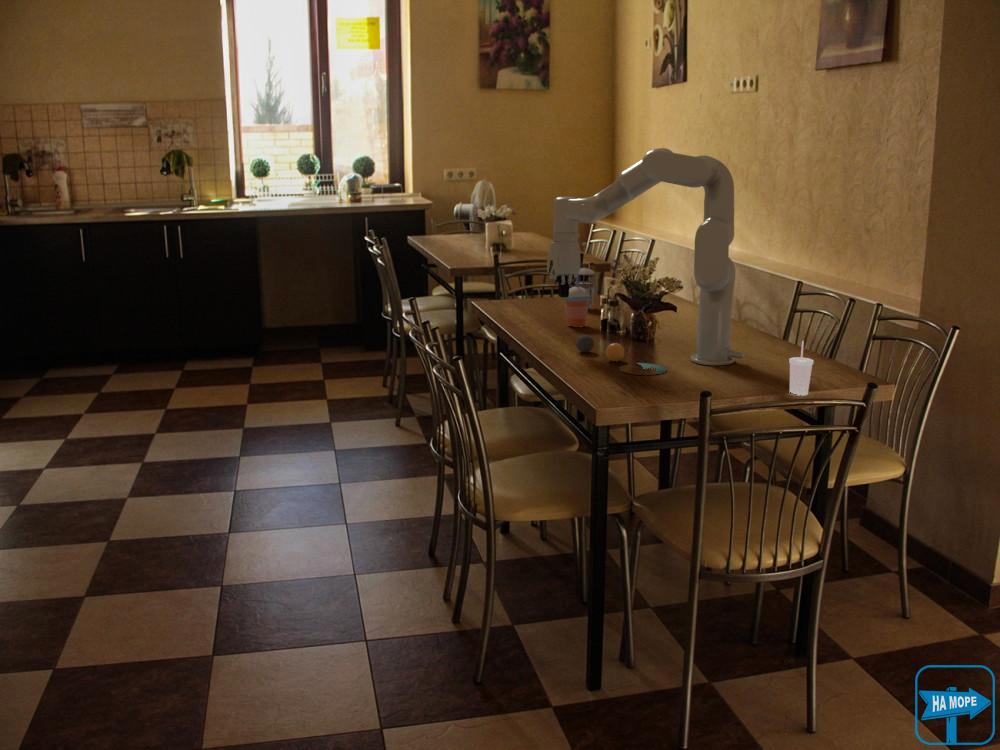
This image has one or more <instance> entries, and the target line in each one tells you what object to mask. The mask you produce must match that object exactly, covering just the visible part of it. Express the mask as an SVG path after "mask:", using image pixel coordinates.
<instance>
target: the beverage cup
mask: <svg viewBox="0 0 1000 750" xmlns="http://www.w3.org/2000/svg"><path fill="white" fill-rule="evenodd" d="M804 341H805V340H802V341H801V348H800V349H801V350H800V356H798V357H797V356H794V357H790V358H789V359H788V363H789V393H790V392H791V393H793V394H797V395H796V396H800V395H801V397H802V396H807V395H808V394H809V390H810V383H811V375H812V369H813V366H814V359H812V358H809V357H804V356H803V355H804V346H805V345H804V344H805V343H804ZM793 394H792V395H793Z"/></svg>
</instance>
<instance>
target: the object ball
mask: <svg viewBox="0 0 1000 750" xmlns="http://www.w3.org/2000/svg"><path fill="white" fill-rule="evenodd" d="M605 356H606V358H607V359H608V361H611V362H614V361H616V362H619V361H621V360H622V359H623V358H624V356H625V348H624V346H623V345H621V344H619V343H618V342H613V343H610V344H609V345H608V346H606V349H605Z"/></svg>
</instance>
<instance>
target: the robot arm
mask: <svg viewBox="0 0 1000 750" xmlns="http://www.w3.org/2000/svg"><path fill="white" fill-rule="evenodd" d="M733 178H734V177H733V176H732V173H731V172H730V170H729V168H728V167H727V166H726V165H725V164H724V163H723V162H722V161H720V160H719V159H717V158H715V157H712V156H709V155H697V156H693V155H688V154H682V153H677V152H673V151H672V150H671V149H668V148H664V147H661V148H660V147H659V148H654V149H650V150H649V151H647V152H646V154H645V155H644V156H643V158H642V159H641V160H638V161H637V162H636V163H634V164H633V165H631V166H629V167H628V168H626V169H625V170H622V172H621V173H619V175H618V176H617V178H616V179H615V180H614V181H613V183H611V184H610V185H609V186H607V187H606V188H604V189H602V190H601V191H599V192H598V193H596V194H595V195H593V196H588V197H583V198H577V197H574V196H558V197H556V198H554V201H553V219H552V220H553V222H552V223H553V227H552V229H553V230H552V241H551V242H549V243H550V244H549V248H548V253H547V260H546V261H547V262H546V273H547V274H549V277H548V278H549V279H550V280H554V281H555V282H556V283H557V285H558V288H557V289H558V291H557V292H558V293H557V295H558V297H559V298H563V299H564V298H566V297H569V289H570V285H571V284H572V281H573V280H574V279H576V277H578V278H579V276H580V275H579V271H580V268H581V249H580V243H579V241H578V240H579V239H578V238H580V236H581V235H580V232H579V223H582V224H591V223H594V222H597V221H600V220H603V219H604V218H606V217H608V216H609V215H611V214H612V213H614V212H616V211H617V210H619V209H621V208H622V207H623V206H625V205H626V204H628V203H630V202H632V201H633V200H635V199H636V198H638V197H640V196H642V194H644V193H645V192H647V191H648V190H650V189H651V188H653V187H655V186H656V185H658V184H660V183H661V182H663V183H667V184H671V185H677V186H682V187H686V188H696V189H697V188H701V187H703V189H704V200H703V221H702V223H700V225H699V226H698V227H697V229H696V232H695V234H694V235H695V236H694V249H693V250H694V256H693V257H694V258H693V259H694V260H693V262H694V263H693V275H694V276H693V277H694V280H695V283H696V284H697V286H698V287H699V298H698V299H699V300H698V313H697V315H698V317H697V330H696V332H697V333H696V347H695V348H696V349H695V351H696V352H695V353H693V354H691V355H690V360H691V362H694V363H695V364H700V365H705V366H727V365H731V364H733V363H734V362H735V358H736V359H739V360H740V359H741V360H743V359H744V355H745V352H742V351H741V350H734V349H733V345H731V344H730V342H731V330H732V328H731V326H732V314H733V313H732V312H733V299H734V289H735V282H736V265H735V264H734V262H733V260H732V259H731V258H730V257H729V252H730V251H729V250H730V249H729V247H730V245H731V244H732V242H733V241H734V238H735V183H734V179H733Z"/></svg>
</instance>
